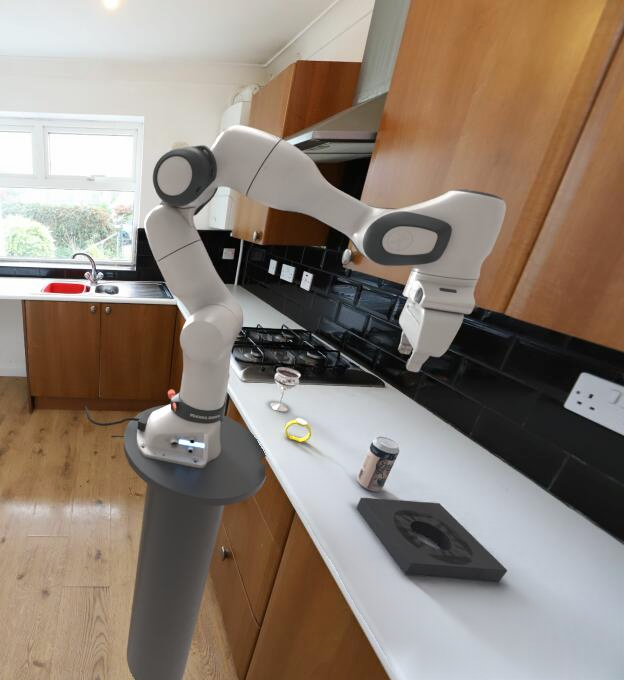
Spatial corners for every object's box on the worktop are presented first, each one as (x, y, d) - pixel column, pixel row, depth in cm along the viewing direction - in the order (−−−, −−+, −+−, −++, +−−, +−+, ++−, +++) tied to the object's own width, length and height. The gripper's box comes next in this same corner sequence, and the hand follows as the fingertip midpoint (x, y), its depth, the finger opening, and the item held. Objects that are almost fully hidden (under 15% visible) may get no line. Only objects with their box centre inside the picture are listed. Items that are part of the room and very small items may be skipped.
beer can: (373, 495, 77) (393, 452, 72) (351, 480, 81) (369, 438, 76) (385, 489, 79) (406, 446, 74) (364, 474, 83) (382, 433, 78)
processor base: (405, 574, 60) (411, 563, 59) (356, 508, 73) (360, 497, 72) (499, 582, 60) (507, 570, 59) (433, 513, 73) (439, 503, 72)
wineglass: (294, 413, 105) (305, 378, 101) (272, 412, 105) (282, 377, 101) (284, 401, 112) (294, 367, 107) (263, 400, 111) (272, 366, 107)
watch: (283, 439, 94) (288, 420, 91) (283, 433, 96) (288, 415, 94) (307, 446, 91) (314, 427, 89) (307, 440, 94) (313, 421, 91)
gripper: (405, 278, 71) (381, 340, 77) (425, 298, 55) (394, 376, 60) (445, 283, 69) (417, 347, 74) (479, 306, 52) (441, 387, 57)
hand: (407, 360), depth 67 cm, fingers open, 8 cm apart
